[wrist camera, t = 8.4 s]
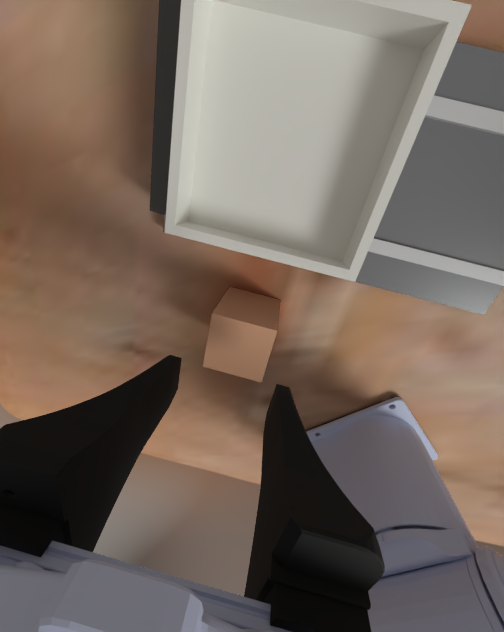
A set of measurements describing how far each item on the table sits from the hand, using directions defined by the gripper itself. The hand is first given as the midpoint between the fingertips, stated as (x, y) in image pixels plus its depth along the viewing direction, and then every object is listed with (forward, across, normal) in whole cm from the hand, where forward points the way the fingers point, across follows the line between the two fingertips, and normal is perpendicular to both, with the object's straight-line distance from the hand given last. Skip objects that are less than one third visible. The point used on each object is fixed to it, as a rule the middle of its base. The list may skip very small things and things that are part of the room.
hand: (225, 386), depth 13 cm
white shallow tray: (+7, 0, -11) cm, 13 cm away
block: (+8, 0, 0) cm, 8 cm away
